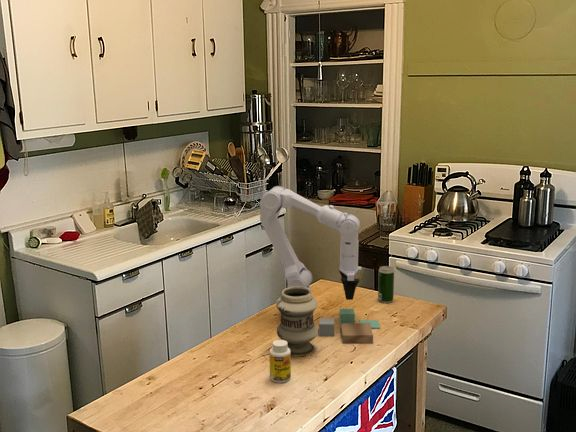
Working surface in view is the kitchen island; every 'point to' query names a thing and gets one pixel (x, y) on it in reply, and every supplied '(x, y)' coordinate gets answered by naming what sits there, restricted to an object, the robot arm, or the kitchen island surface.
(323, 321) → the slate block
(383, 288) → the beer can
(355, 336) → the walnut block
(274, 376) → the supplement bottle
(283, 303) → the apothecary jar
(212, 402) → the kitchen island surface
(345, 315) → the teal block
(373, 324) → the teal square tile
